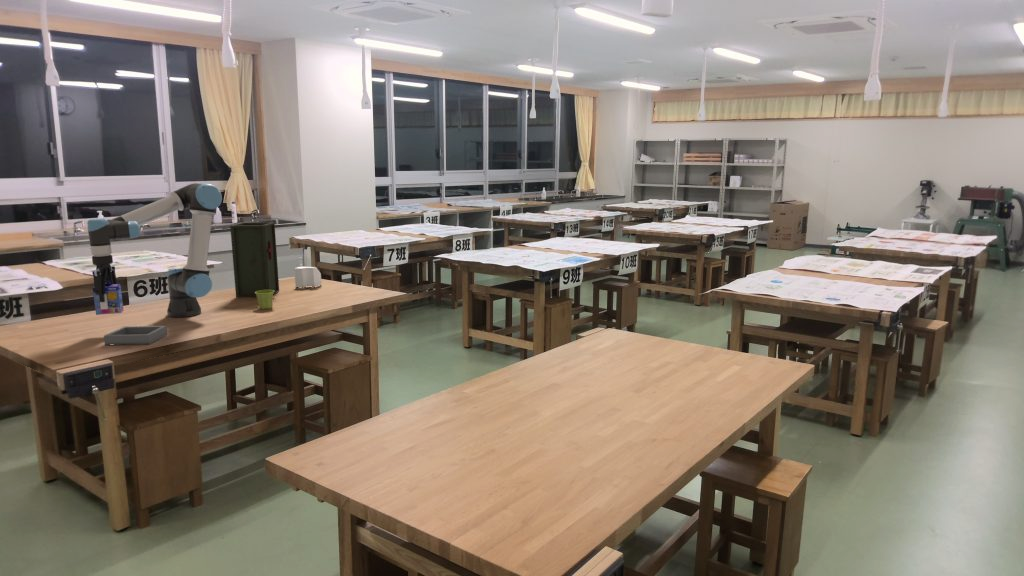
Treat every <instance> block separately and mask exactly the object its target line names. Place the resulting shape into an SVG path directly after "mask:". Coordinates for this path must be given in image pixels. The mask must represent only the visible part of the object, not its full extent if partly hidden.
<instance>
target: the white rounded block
mask: <svg viewBox="0 0 1024 576" xmlns="http://www.w3.org/2000/svg"><path fill="white" fill-rule="evenodd" d="M293 270H294V282H295V283H294V284H295V285H294V286H295V288H296V287H306V286H312V287H315V286H318V285H321V284H322V274H321V272H320V270H319V268H317V267H316V266H297V267H294V269H293ZM321 286H322V285H321ZM318 287H319V286H318ZM306 288H307V287H306ZM315 288H316V287H315Z"/></svg>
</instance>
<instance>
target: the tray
mask: <svg viewBox="0 0 1024 576" xmlns="http://www.w3.org/2000/svg"><path fill="white" fill-rule="evenodd" d="M167 336H168V327H167V325H139V326H138V325H137V326H136V325H134V326H133V325H132V326H131V325H130V326H129V325H128V326H122V327H120V328H117V329H116V330H113V331H112V332H109V333H107V334H104V335H103V340H104V341H103V342H104V346H111V345H110V344H114V345H113V346H136V345H137V346H140V345H141V346H143V345H149V344H150V345H152V344H153V343H156V342H157V341H159V340H161V339H162V338H164V337H167ZM121 344H122V345H121Z"/></svg>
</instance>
